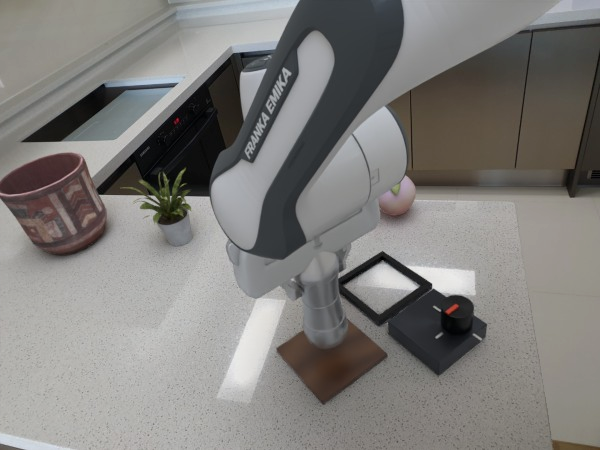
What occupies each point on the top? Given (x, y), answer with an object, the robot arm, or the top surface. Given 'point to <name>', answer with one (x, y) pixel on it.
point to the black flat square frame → (398, 306)
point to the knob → (457, 314)
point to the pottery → (55, 202)
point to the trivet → (331, 361)
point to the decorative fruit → (398, 198)
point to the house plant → (170, 211)
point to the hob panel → (433, 333)
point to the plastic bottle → (322, 300)
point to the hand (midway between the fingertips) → (317, 282)
